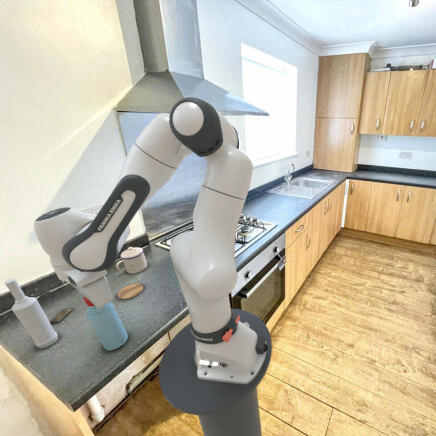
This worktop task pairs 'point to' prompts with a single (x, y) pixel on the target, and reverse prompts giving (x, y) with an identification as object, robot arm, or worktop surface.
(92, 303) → the cap
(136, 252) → the teacup with lid
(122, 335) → the water bottle
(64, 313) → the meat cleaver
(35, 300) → the bottle
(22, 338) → the worktop surface
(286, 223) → the worktop surface
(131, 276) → the worktop surface
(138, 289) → the coaster
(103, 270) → the robot arm
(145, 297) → the worktop surface
